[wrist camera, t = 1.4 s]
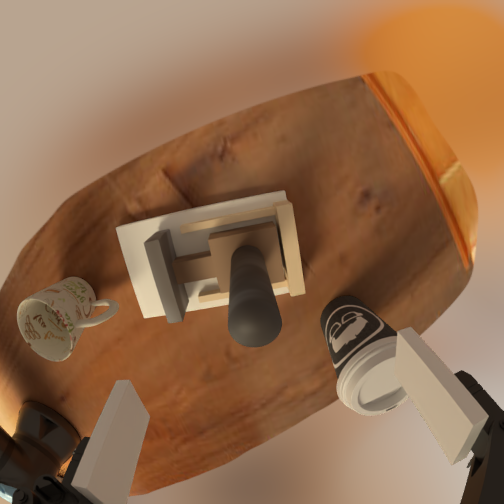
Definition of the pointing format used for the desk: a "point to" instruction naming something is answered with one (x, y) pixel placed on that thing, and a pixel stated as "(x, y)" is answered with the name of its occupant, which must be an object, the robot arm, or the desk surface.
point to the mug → (60, 317)
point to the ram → (225, 278)
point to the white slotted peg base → (196, 240)
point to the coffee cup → (362, 356)
